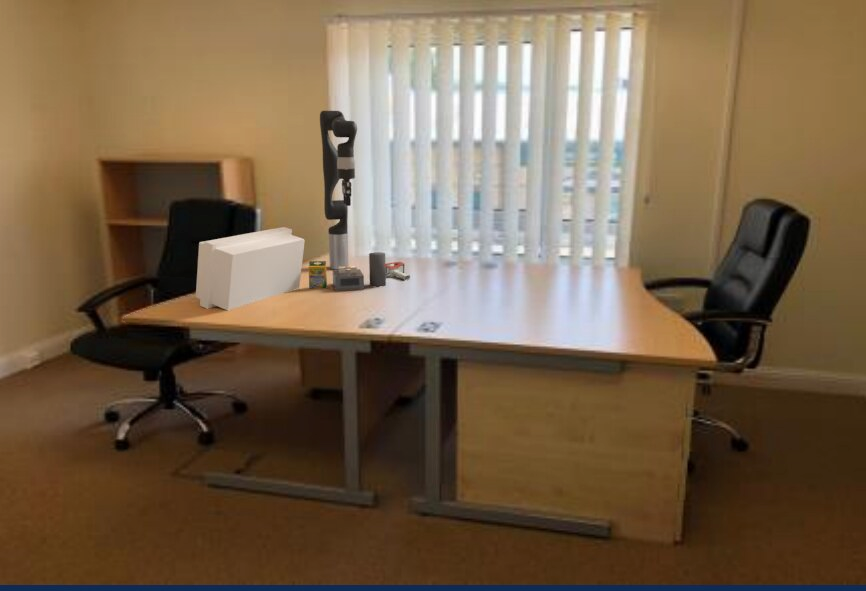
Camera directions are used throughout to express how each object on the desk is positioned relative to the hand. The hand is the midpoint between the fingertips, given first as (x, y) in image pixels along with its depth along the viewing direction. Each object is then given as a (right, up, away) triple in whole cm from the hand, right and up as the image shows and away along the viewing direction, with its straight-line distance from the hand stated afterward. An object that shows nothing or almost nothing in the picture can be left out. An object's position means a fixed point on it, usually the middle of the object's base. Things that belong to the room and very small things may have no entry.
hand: (347, 204), depth 305 cm
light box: (-35, -41, -24) cm, 59 cm away
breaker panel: (+1, -36, -6) cm, 37 cm away
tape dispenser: (+20, -32, +16) cm, 41 cm away
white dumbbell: (+1, -31, -7) cm, 31 cm away
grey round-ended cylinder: (+14, -36, -3) cm, 38 cm away
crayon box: (-12, -37, -8) cm, 40 cm away
